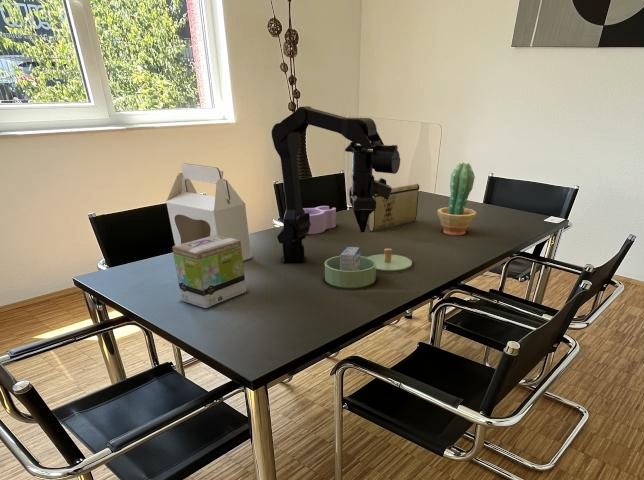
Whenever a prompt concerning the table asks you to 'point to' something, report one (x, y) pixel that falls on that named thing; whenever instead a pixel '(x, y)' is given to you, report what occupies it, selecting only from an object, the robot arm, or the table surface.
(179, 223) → the gable box
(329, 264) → the pot
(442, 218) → the potted cactus
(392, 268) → the pot lid
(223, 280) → the tea box
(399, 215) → the clutch purse
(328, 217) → the purple piece
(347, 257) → the medicine box
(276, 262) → the table surface
